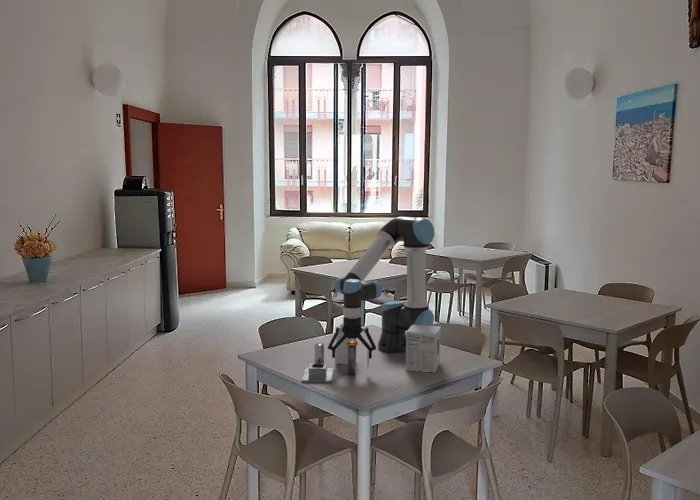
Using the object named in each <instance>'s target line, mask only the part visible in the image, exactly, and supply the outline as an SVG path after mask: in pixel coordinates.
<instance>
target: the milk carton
mask: <svg viewBox="0 0 700 500" xmlns="http://www.w3.org/2000/svg"><path fill="white" fill-rule="evenodd" d="M339 328H343V322H342V323H341V324H339ZM343 335H344V333H343V332H342V331H341V332H340V333H338V335H337V337H336V339H335V344H336V343H337V342H338V341H339V340H340V338H341V337H342V336H343ZM347 341H357V338H356V339H353V338H351V339H348V338H347V337H346V339H345V340H344V341H343V342H342V343H341V344H340V345H339V346H338V347H337V348H336V349H337V365H344V366H345V365H346V366H348V345H347Z"/></svg>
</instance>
